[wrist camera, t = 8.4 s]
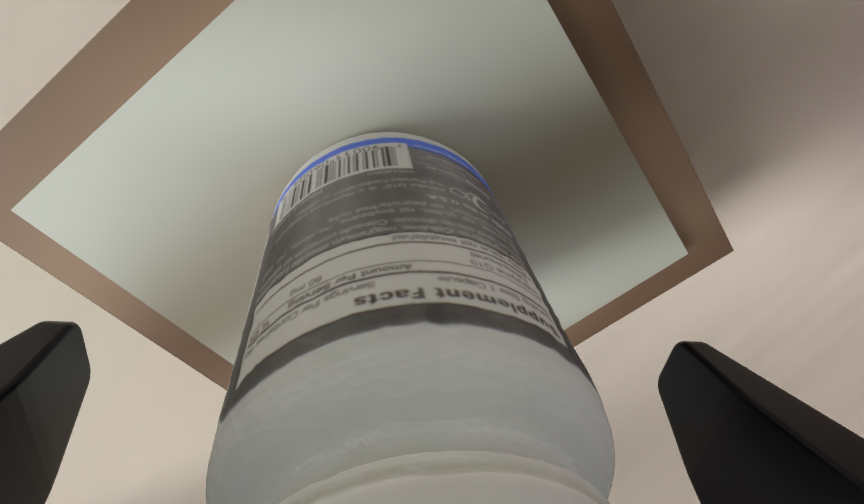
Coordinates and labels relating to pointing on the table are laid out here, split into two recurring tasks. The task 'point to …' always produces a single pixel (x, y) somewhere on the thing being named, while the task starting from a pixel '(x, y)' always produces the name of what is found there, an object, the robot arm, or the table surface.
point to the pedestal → (334, 122)
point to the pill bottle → (403, 349)
